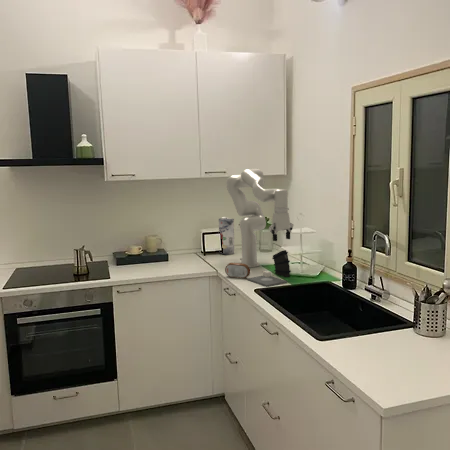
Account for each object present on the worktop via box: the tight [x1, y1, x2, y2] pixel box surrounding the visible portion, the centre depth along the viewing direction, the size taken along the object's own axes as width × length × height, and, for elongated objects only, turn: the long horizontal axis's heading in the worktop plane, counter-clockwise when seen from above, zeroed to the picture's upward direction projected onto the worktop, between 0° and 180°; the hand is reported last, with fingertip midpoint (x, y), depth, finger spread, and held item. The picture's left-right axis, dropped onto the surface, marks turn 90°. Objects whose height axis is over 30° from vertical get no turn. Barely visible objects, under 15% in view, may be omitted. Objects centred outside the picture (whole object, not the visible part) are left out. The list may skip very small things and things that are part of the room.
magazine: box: [271, 249, 292, 278], centre depth 278 cm, size 4×13×15 cm, turn 30°
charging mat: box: [246, 270, 288, 288], centre depth 265 cm, size 18×14×4 cm
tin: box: [224, 262, 251, 279], centre depth 274 cm, size 15×3×8 cm, turn 66°
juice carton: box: [218, 216, 235, 256], centre depth 342 cm, size 9×10×27 cm
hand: (281, 239), depth 276 cm, fingers open, 9 cm apart
